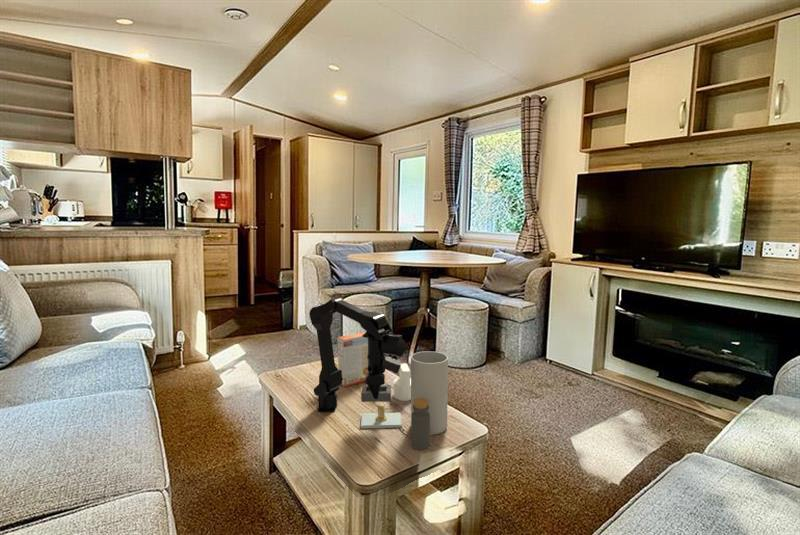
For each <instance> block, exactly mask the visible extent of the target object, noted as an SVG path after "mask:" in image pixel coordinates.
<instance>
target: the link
mask: <svg viewBox="0 0 800 535" xmlns="http://www.w3.org/2000/svg"><path fill="white" fill-rule="evenodd" d="M360 396H361V397H360V399H361V402H362V403H364V402H365V403H371V402H372V403H374V402H375V403H378V402H379V403H380V402H382V403H385V402H386V403H387V402H388V403H389V402H391V400H392V384H384V385H381V386H380V389H379V394H378V399H374V397H373V395H372V393H371V391H370V389H369V387H368V385H366V384H363V385H362V388H361V394H360Z"/></svg>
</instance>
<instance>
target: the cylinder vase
mask: <svg viewBox="0 0 800 535" xmlns="http://www.w3.org/2000/svg"><path fill="white" fill-rule="evenodd" d="M448 371H449V357H448V355H447V354H445V353H443V352H439V351H431V350H430V351H429V350H427V351H426V350H425V351H418V352H415V353H413V354H412V355H411V356H410V378H411V400H410V419H411V418H412V412H414V410H413V405H414V402H413V400H414V399H416V398H425V399H427V400H428V406H429V410H428V411H427V412H429V414H430V436H434V435H439V434H442V433H444V432H445V431H446V429H447V428H448V395H449V394H448V391H449V390H448V388H449V387H448V386H449V384H448V381H449V379H448V378H449V376H448V375H449V372H448Z"/></svg>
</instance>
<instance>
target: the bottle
mask: <svg viewBox="0 0 800 535" xmlns="http://www.w3.org/2000/svg"><path fill="white" fill-rule="evenodd" d="M413 402H414V405H413V410H414V412H412V418H411V417H410V426H411V428H410V431H411V442H410V443H411V447H412V449H413V450H416V451H425V450H426V451H427V450H428V449H430V445H431V444H430V443H431V435H430V414H429V412H427V411H428V410H429V406H428V400H427V399H425V398H416V399H414V400H413Z"/></svg>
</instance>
